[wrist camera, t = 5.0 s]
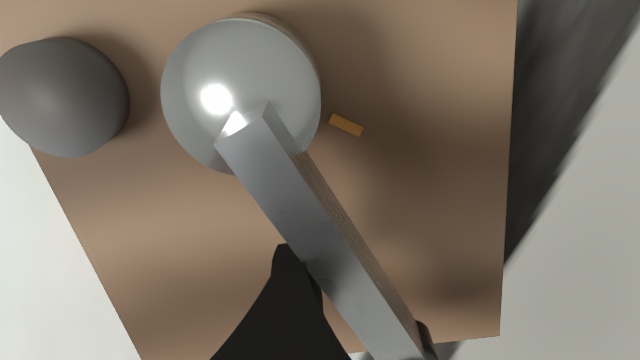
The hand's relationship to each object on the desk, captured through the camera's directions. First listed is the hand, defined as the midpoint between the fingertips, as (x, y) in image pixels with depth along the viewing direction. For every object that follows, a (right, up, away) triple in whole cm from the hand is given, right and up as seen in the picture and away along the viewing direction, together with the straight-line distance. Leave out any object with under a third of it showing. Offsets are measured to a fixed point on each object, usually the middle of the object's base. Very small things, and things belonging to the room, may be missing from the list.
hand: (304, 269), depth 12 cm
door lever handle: (+1, +2, +1) cm, 2 cm away
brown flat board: (-1, +4, +2) cm, 4 cm away
